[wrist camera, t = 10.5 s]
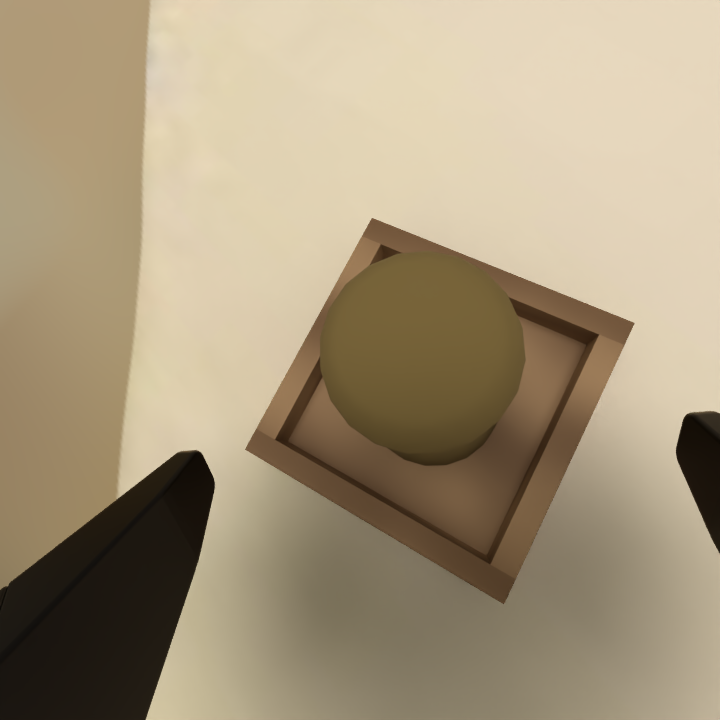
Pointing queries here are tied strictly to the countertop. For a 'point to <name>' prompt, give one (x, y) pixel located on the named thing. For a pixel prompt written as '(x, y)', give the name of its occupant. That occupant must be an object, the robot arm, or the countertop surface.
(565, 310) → the walnut tray
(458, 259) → the cork
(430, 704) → the countertop surface
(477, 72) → the countertop surface
